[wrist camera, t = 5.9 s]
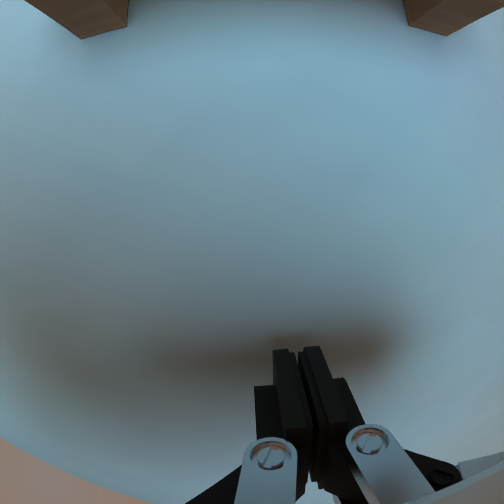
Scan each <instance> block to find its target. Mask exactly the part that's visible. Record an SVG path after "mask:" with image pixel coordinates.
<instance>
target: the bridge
mask: <svg viewBox="0 0 504 504" xmlns="http://www.w3.org/2000/svg"><path fill="white" fill-rule="evenodd" d="M25 1H26V2H28V3H29V4H31V5H32V6H34V7H35V8H37V9H38V10H40V11H41V12H43V13H44V14H46V15H47V16H49V17H50V18H52V19H53V20H55V21H56V22H57V23H59V24H60V25H62V26H63V27H65V28H66V29H67V30H69V31H70V32H72V33H73V34H74V35H76V36H77V37H79V38H80V39H83V38H86V37H89V36H93V35H96V34H100V33H103V32H107V31H110V30H114V29H118V28H122V27H126V26H127V14H128V3H129V0H25ZM403 2H404V6H405V10H406V14H407V19H408V23H409V26H412V27H416V28H420V29H424V30H428V31H432V32H435V33H439V34H442V35H445V36H448V35H450V34H452V33H453V32H455V31H457V30H459V29H461V28H463V27H465V26H466V25H468V24H470V23H472V22H474V21H476V20H478V19H480V18H482V17H484V16H486V15H488V14H490V13H492V12H494V11H496V10H498V9H500V8H502V7H504V0H403Z"/></svg>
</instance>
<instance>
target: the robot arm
mask: <svg viewBox="0 0 504 504" xmlns="http://www.w3.org/2000/svg"><path fill="white" fill-rule="evenodd" d="M254 396H255V415H256V433H257V440H256V441H255V442H253V443H251V444H250V445H249V446H248V447H247V449H246V451H245V454H244V458H243V463H242V465H241V466H240V467H238V468H237V469H235V470H234V471H233V472H231V473H230V474H229V475H227V476H226V477H224V478H223V479H222V480H220V481H219V482H217V483H216V484H214V485H213V486H211V487H210V488H208V489H207V490H205V491H204V492H202V493H201V494H199V495H198V496H196V497H195V498H193V499H192V500H190V501H188V502H187V503H185V504H295V502H296V501H297V500H298V499H299V498H300V497H301V496H302V495H303V494H304V493H305V485H306V483H307V480H308V473H310V478H311V481H312V482H316V481H317V483H318V488H319V489H324V490H325V491H327V492H329V493H331V494H333V500H334V502H335V504H504V452H500V453H496V454H493V455H489V456H485V457H481V458H476V459H472V460H467V461H463V462H459V463H458V464H457V465H456V466H454V465H452V464H450V463H447V462H444V461H440V460H437V459H433V458H430V457H427V456H424V455H420V454H417V453H414V452H411V451H408V450H405V449H403V448H402V447H401V445H400V444H399V443H398V441H397V440H396V439H395V437H394V436H393V435H392V433H391V432H390V431H389V430H388V429H386V428H384V427H382V426H380V425H375V424H365V422H364V420H363V418H362V415H361V413H360V411H359V409H358V407H357V404H356V402H355V400H354V398H353V395H352V393H351V391H350V389H349V387H348V384H347V382H346V380H345V379H344V378H336V379H333V378H332V375H331V373H330V371H329V368H328V366H327V363H326V361H325V358H324V356H323V353H322V351H321V349H320V347H319V346H313V347H304V349H303V351H302V352H298V364H297V361H296V357H295V353H294V352H291V353H289V350H288V349H279V350H273V385H268V386H254Z"/></svg>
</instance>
